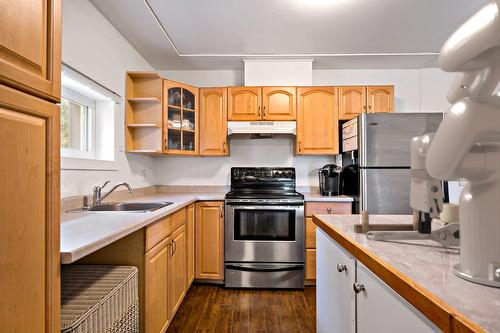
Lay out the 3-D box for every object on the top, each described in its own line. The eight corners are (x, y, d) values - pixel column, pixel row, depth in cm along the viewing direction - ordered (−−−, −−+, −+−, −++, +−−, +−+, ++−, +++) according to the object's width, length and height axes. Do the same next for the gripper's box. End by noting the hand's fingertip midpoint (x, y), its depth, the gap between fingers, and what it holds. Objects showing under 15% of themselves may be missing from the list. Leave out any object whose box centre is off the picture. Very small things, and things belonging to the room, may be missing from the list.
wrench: (368, 246, 100) (471, 248, 85) (367, 247, 99) (472, 249, 83) (365, 224, 101) (467, 222, 85) (364, 225, 99) (468, 223, 84)
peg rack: (426, 234, 106) (426, 211, 106) (359, 234, 106) (358, 211, 107) (418, 231, 111) (418, 209, 111) (354, 231, 112) (353, 209, 112)
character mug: (472, 241, 94) (471, 204, 94) (474, 246, 88) (473, 206, 89) (434, 237, 100) (433, 202, 101) (433, 241, 95) (432, 204, 95)
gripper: (454, 176, 78) (453, 240, 78) (422, 174, 93) (422, 227, 93) (427, 176, 78) (427, 240, 79) (400, 174, 93) (400, 227, 94)
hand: (424, 233), depth 86 cm, fingers closed
